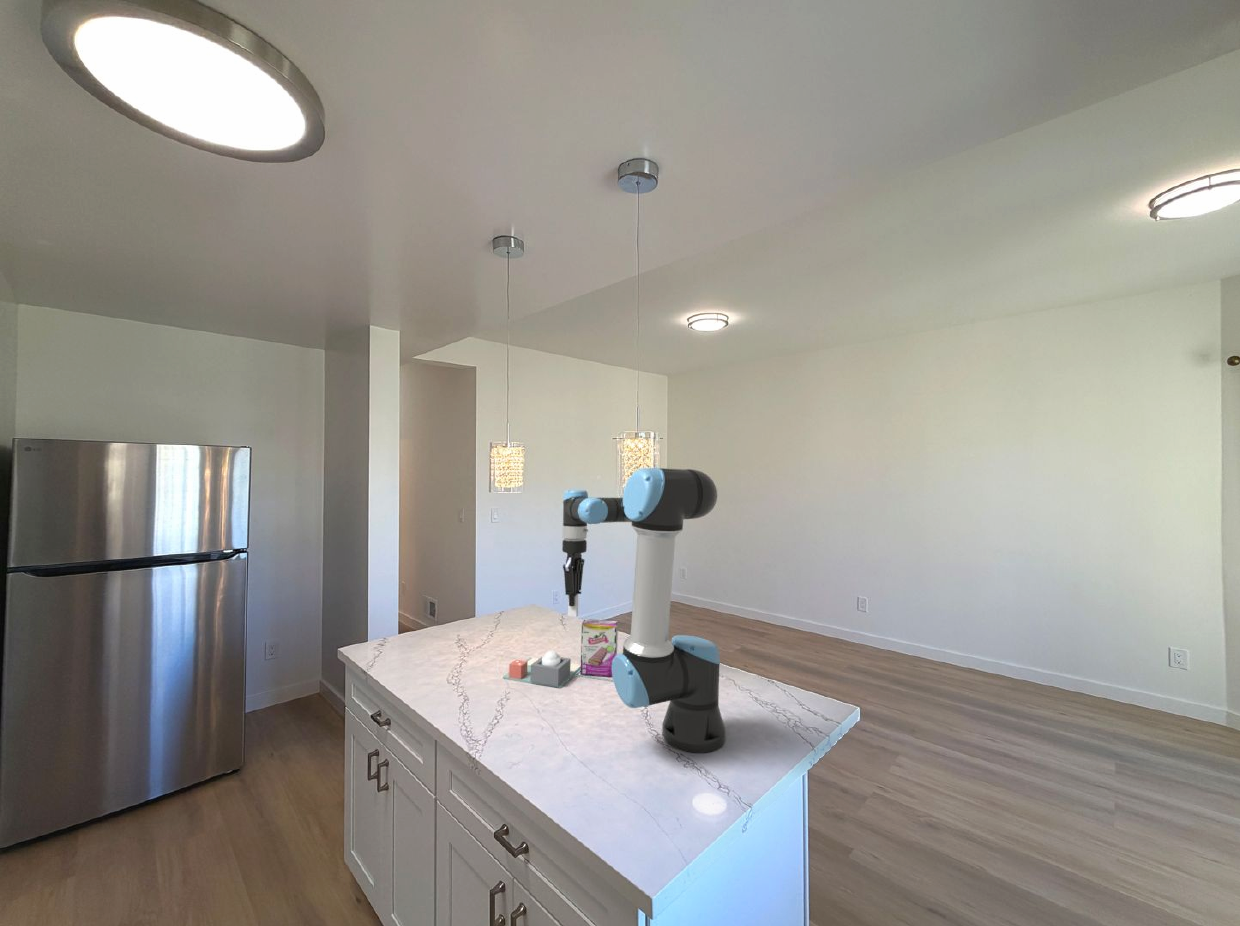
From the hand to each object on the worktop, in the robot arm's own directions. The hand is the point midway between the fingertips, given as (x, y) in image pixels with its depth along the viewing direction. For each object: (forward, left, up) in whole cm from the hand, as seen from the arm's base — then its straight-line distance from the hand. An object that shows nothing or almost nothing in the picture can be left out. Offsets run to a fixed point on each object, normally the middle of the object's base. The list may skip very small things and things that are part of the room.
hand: (572, 615), depth 154 cm
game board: (+1, +10, -19) cm, 21 cm away
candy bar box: (+6, -7, -19) cm, 21 cm away
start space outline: (+6, -7, -19) cm, 21 cm away
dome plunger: (-4, +5, -16) cm, 18 cm away
